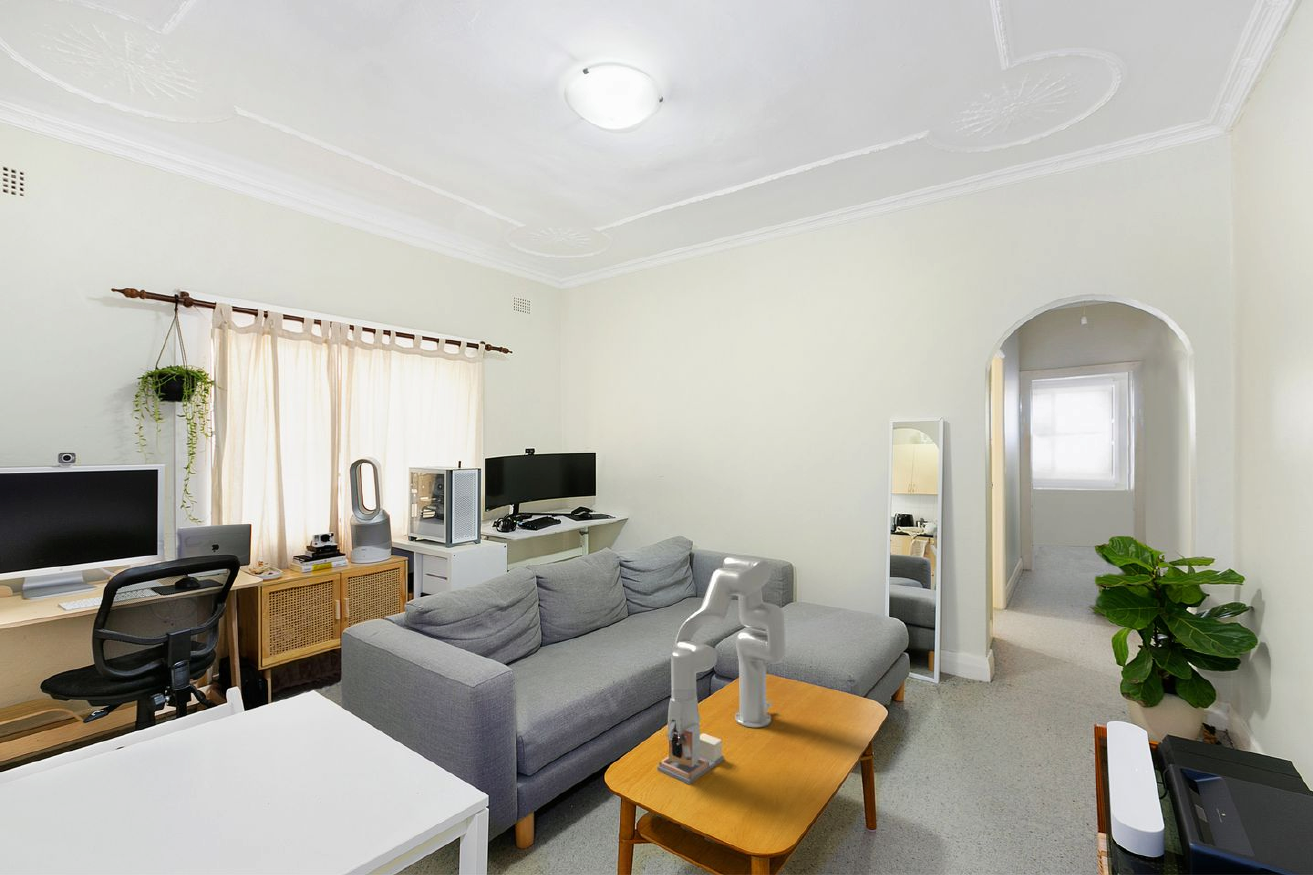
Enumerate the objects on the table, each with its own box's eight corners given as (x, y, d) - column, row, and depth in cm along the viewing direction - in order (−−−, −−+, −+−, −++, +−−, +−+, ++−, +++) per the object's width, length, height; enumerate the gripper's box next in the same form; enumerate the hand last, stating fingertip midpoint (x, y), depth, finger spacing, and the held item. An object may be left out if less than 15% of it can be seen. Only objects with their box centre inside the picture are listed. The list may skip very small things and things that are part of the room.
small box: (668, 761, 178) (668, 726, 178) (676, 752, 183) (676, 718, 183) (692, 767, 174) (692, 731, 175) (700, 758, 179) (700, 724, 180)
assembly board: (693, 746, 192) (692, 728, 192) (723, 759, 184) (723, 739, 184) (657, 769, 178) (657, 749, 178) (689, 784, 171) (688, 763, 171)
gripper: (691, 680, 188) (691, 737, 188) (655, 697, 175) (656, 759, 175) (710, 686, 183) (710, 744, 183) (675, 704, 170) (676, 767, 170)
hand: (684, 751), depth 179 cm, fingers closed on small box, 6 cm apart
